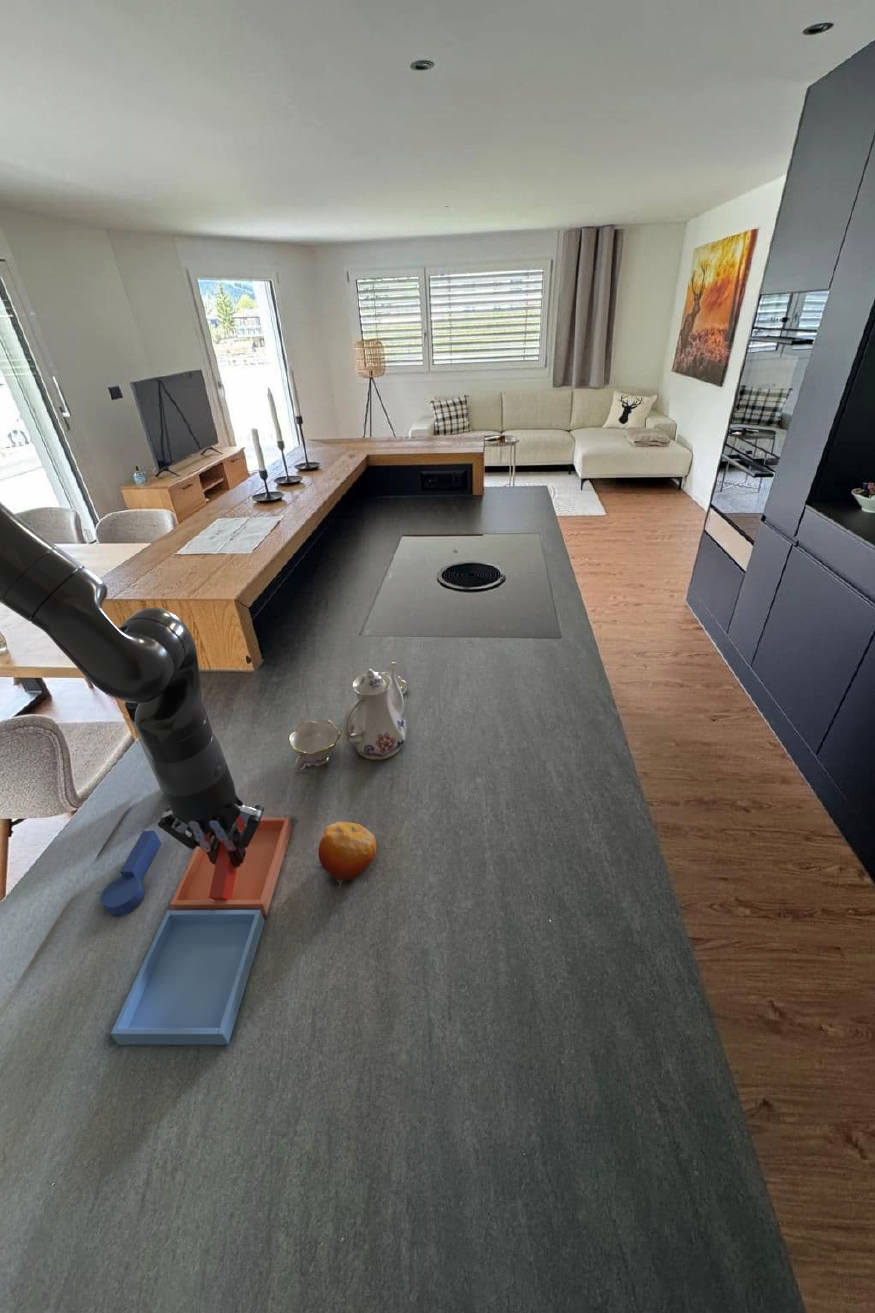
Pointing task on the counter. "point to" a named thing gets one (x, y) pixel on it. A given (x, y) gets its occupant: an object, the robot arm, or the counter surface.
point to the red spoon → (224, 872)
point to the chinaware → (359, 722)
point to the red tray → (238, 873)
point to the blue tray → (191, 979)
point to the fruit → (346, 850)
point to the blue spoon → (131, 877)
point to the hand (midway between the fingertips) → (230, 861)
